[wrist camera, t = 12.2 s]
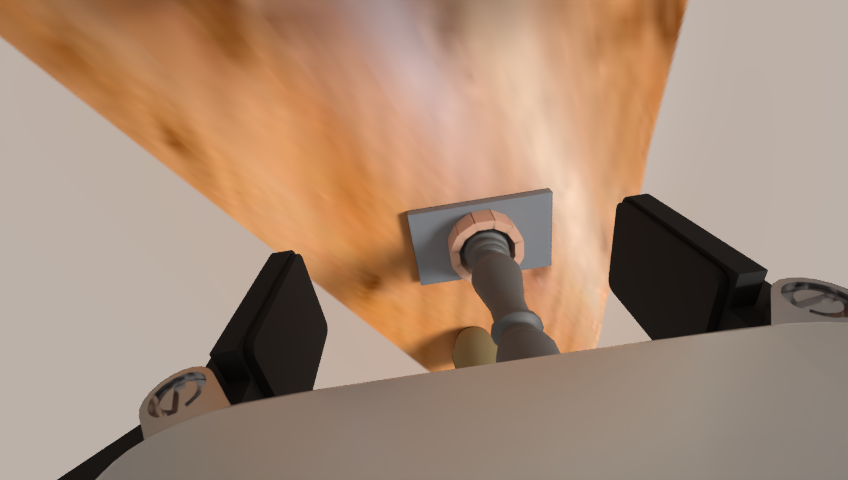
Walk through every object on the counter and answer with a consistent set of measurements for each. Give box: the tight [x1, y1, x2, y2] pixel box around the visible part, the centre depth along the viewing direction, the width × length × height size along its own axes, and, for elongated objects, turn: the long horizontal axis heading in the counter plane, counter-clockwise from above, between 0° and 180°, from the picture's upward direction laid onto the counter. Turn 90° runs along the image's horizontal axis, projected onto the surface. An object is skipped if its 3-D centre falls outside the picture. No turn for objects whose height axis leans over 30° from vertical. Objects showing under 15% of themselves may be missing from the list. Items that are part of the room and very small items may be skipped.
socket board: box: [407, 188, 553, 285], centre depth 52 cm, size 20×12×5 cm, turn 99°
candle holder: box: [462, 229, 560, 363], centre depth 42 cm, size 6×6×25 cm
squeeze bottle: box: [452, 327, 498, 369], centre depth 56 cm, size 8×8×18 cm
